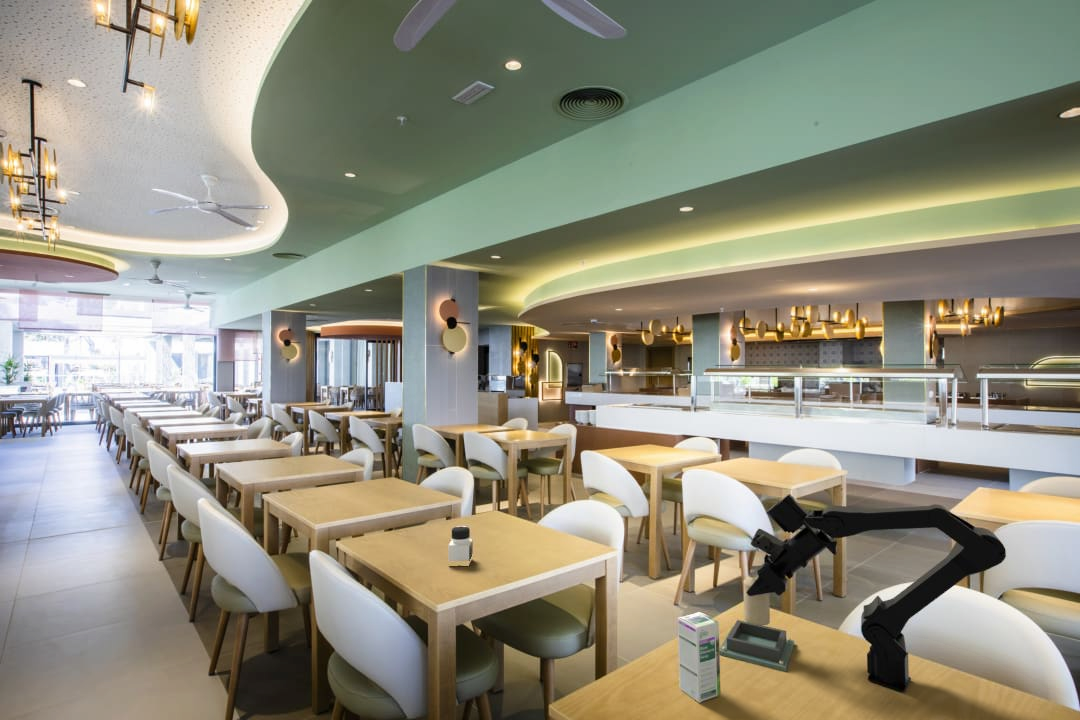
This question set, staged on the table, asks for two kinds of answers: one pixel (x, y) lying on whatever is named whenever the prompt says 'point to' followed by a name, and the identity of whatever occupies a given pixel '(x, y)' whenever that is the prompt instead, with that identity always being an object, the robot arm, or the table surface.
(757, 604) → the candle
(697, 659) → the syrup box
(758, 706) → the table surface
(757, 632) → the header socket
